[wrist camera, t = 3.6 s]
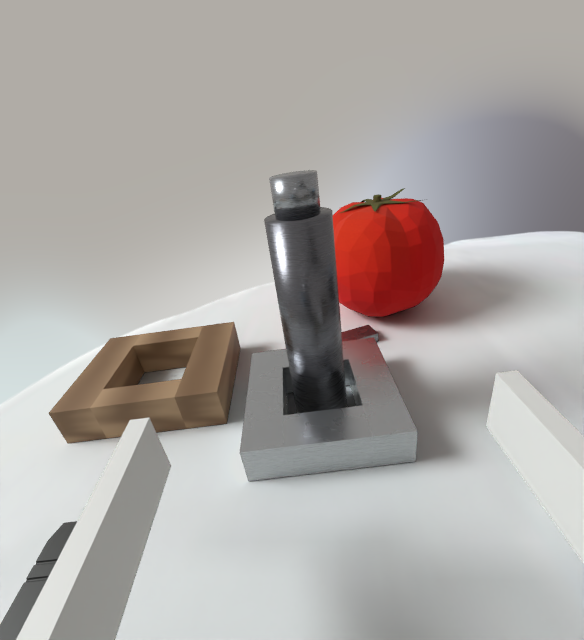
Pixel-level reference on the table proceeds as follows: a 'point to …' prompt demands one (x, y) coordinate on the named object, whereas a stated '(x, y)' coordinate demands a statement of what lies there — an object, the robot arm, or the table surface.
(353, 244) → the tomato
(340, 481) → the table surface
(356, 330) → the bar
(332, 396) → the metal bottle
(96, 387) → the frame
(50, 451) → the table surface
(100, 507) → the robot arm
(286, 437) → the socket collar
